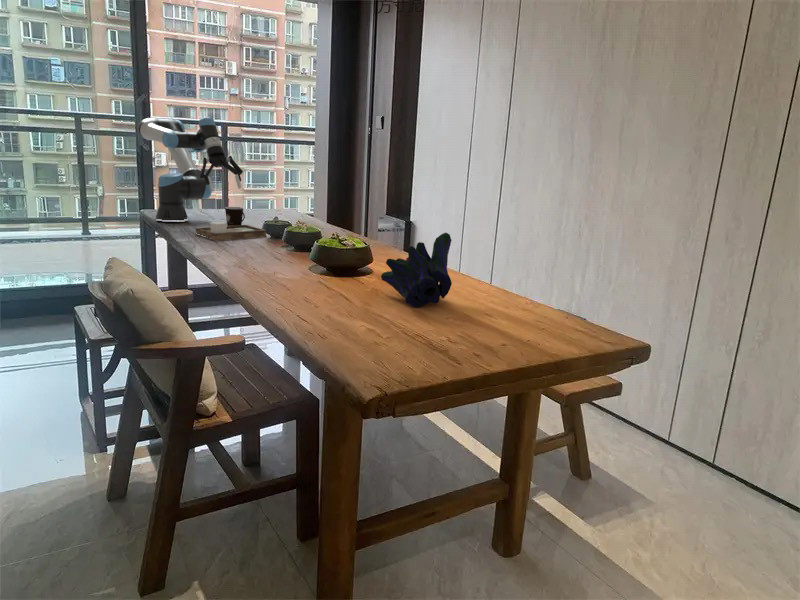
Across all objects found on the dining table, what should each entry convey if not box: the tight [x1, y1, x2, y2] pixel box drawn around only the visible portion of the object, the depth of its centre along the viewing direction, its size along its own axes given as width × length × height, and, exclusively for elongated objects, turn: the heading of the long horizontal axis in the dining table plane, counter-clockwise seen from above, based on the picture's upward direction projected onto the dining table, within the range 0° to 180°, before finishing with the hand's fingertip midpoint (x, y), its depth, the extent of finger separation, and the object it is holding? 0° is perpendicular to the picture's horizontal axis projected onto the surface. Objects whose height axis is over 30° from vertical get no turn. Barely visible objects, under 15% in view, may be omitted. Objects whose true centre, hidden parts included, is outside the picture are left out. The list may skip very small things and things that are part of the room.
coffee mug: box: [224, 206, 246, 226], centre depth 300 cm, size 12×9×10 cm
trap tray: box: [195, 224, 267, 241], centre depth 283 cm, size 17×26×3 cm, turn 135°
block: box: [210, 221, 227, 233], centre depth 273 cm, size 5×5×5 cm
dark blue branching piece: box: [380, 232, 453, 309], centre depth 196 cm, size 21×26×30 cm
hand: (226, 189), depth 295 cm, fingers open, 13 cm apart
